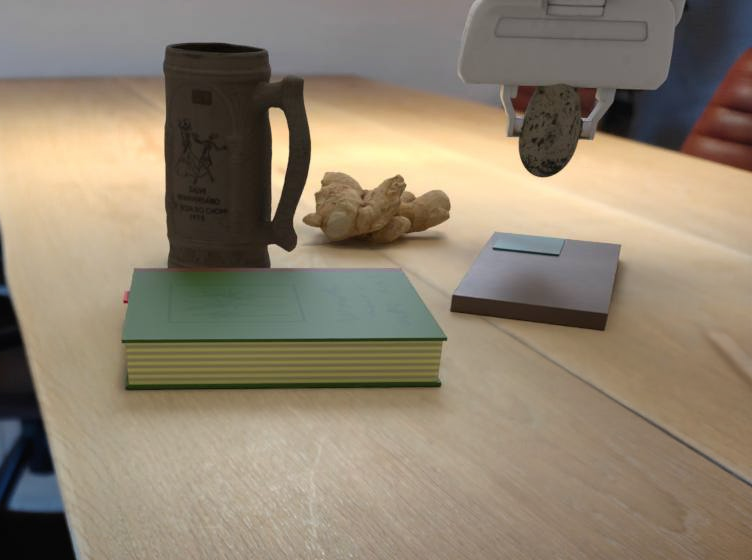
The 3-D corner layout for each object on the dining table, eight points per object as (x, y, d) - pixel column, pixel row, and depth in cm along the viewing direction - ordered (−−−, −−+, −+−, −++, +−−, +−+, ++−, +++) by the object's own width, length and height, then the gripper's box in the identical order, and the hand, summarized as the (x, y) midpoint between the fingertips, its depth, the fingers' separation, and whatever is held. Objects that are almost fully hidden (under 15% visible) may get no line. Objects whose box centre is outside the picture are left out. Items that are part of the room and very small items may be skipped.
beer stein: (142, 275, 92) (141, 41, 80) (188, 249, 100) (194, 33, 88) (282, 305, 89) (304, 66, 76) (318, 277, 97) (344, 56, 84)
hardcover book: (396, 309, 85) (401, 267, 83) (440, 385, 70) (447, 337, 68) (128, 310, 83) (125, 268, 81) (115, 389, 69) (111, 339, 66)
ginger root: (267, 225, 104) (281, 147, 101) (339, 236, 116) (354, 166, 113) (382, 255, 97) (401, 172, 93) (446, 263, 109) (465, 190, 106)
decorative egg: (577, 183, 93) (600, 68, 87) (519, 182, 93) (538, 67, 87) (562, 172, 98) (584, 62, 92) (507, 170, 98) (525, 61, 92)
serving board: (492, 245, 105) (494, 229, 104) (618, 258, 101) (621, 242, 100) (449, 310, 85) (452, 292, 84) (604, 330, 82) (608, 311, 81)
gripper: (682, -27, 87) (643, 136, 95) (467, -33, 88) (447, 129, 96) (702, -26, 82) (659, 146, 90) (473, -32, 83) (452, 139, 91)
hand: (548, 137), depth 93 cm, fingers closed on decorative egg, 6 cm apart
